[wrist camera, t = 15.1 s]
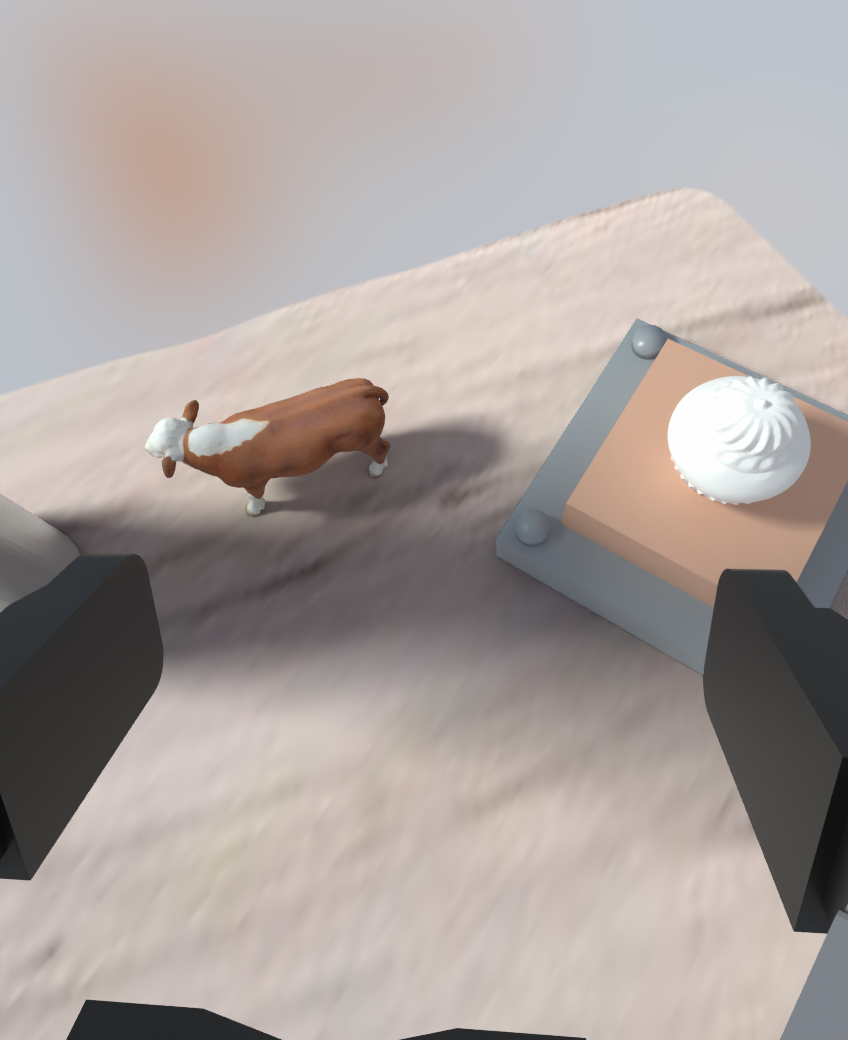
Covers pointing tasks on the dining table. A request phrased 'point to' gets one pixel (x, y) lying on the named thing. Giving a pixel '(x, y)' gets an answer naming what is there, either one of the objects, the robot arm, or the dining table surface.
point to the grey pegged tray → (670, 505)
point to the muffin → (739, 439)
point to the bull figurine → (277, 437)
